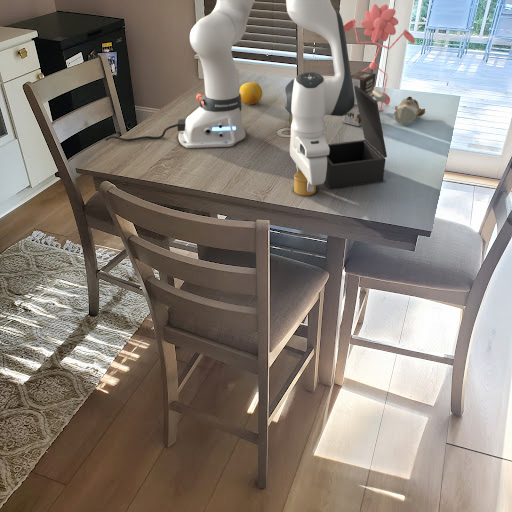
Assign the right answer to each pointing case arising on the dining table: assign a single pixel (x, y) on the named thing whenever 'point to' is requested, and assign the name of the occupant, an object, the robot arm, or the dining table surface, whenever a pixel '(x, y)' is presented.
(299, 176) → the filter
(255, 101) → the fruit
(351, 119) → the coffee box
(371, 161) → the black lidded box
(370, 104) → the lid
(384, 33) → the figurine
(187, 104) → the dining table surface
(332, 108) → the robot arm
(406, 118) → the ceramic sculpture
